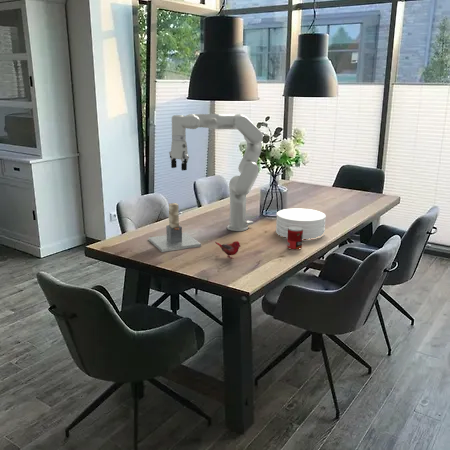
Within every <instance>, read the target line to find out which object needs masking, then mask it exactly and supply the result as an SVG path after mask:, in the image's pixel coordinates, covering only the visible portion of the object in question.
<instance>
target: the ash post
mask: <svg viewBox="0 0 450 450" xmlns="http://www.w3.org/2000/svg"><path fill="white" fill-rule="evenodd" d="M179 211H180V210H179V204H178V203H176V202H174V203H173V202H171V203H168V225H169V227H171V228H176V227H179V226H180V215H179Z"/></svg>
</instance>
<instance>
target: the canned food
mask: <svg viewBox="0 0 450 450" xmlns="http://www.w3.org/2000/svg"><path fill="white" fill-rule="evenodd" d="M302 238H303V228H302V227H299V226H290V227H288V238H286V240H287V242H286V243H287V244H286V246H287V249H289V248H291V249H299V248H301V249H302V247H303V240H302ZM291 249H290V250H291Z"/></svg>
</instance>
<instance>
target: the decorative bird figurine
mask: <svg viewBox="0 0 450 450" xmlns="http://www.w3.org/2000/svg"><path fill="white" fill-rule="evenodd" d="M214 243H215V244H216V245H218V246H219V247H220V248H221V250H222V252H224V253H225V254H226V258H228V259H233V260H234V259H235V258H234V257H232V256H235V255H236V254H237V253H238V251H239V249H240V247H241V245H240V242H239V241H238V240H235V241H232V243H225V244H224V243H223V244H221V243H219V242H217V241H214Z"/></svg>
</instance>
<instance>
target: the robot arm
mask: <svg viewBox="0 0 450 450" xmlns="http://www.w3.org/2000/svg"><path fill="white" fill-rule="evenodd" d="M198 128H202V129H203V128H205V129H206V128H208V129H212V130H218V131H219V130H238V131H239V132H240V134H241V135H242V136H243V138H244V140H245V142H246V149H245V152H244V154H243V156H242V158H241V160H240V162H239V165H238V171H239V173H240V174H239V175H234V176H233V177H231V179H230V181H229V183H228V185H229V187H228V189H229V190H228V191H229V224H228V225H227V226H226V229H227V230H228V231H232V232H245V231H247V230H248V229H249V225H253V224H254V221H252V220H247V219H246V218H247V217H246V216H247V215H246V213H247V195H248V194H249V193H250V191H251V190H252V188H253V186H254V184H255V182H256V180H257V178H258V175H259V173H260V172H259V171H260V168H259V166H258V164H257V163H258V161H259V158H260V156H261V152H262V142H263V139H264V135H263V132H262V130H261V129H260V128H258V127H257V126H256V124H254V123H253V122H252V120H250V118H249V117H247V116H246V115H244V114H240V113H205V114H204V113H189V114H186V116H185V115H183V114H176V115H172V116H171V144H170V145H171V147H170V151H169V152H168V154H169V159H170V162H171V163H170V164H171V166H170V167H171V169H175V168H177V160H180V161H181V168H180V169H181V171H187V169H188V168H187V167H188V166H187V165H188V161H189V158H190V156H189V153H188V145H187V140H186V133H187V132H186V129H187V130H188V129H189V130H196V129H198Z"/></svg>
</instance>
